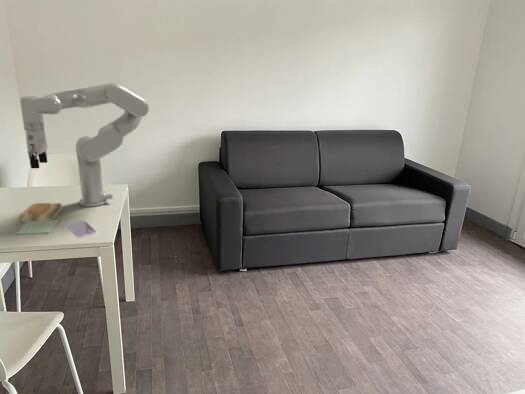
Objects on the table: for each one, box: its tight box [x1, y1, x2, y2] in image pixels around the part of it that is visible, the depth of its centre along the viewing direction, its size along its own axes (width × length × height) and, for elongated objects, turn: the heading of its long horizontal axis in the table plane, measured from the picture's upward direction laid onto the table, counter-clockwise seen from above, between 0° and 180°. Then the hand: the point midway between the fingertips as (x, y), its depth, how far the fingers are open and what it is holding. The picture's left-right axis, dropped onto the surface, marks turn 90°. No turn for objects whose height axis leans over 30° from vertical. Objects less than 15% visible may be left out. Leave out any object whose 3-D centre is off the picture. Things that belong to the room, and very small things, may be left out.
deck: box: [19, 202, 62, 223], centre depth 176 cm, size 12×14×3 cm
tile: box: [28, 202, 51, 215], centre depth 173 cm, size 6×9×2 cm, turn 10°
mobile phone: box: [67, 220, 98, 238], centre depth 165 cm, size 8×1×15 cm
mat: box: [16, 219, 60, 235], centre depth 164 cm, size 12×12×1 cm
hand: (39, 165), depth 177 cm, fingers open, 9 cm apart
